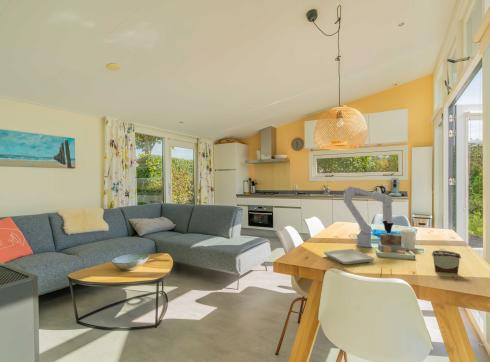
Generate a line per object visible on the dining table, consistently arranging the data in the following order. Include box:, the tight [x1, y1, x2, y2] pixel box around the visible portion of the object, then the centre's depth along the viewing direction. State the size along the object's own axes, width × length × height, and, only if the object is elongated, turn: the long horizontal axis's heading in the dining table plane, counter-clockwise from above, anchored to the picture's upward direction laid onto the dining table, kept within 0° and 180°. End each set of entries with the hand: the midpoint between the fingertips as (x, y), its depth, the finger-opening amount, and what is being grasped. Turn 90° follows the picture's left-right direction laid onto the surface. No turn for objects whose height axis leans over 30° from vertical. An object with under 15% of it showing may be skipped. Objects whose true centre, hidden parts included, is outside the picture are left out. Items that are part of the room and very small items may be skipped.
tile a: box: [384, 246, 391, 253], centre depth 171 cm, size 4×4×2 cm
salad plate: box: [323, 248, 375, 265], centre depth 160 cm, size 21×21×3 cm
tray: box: [375, 247, 416, 261], centre depth 167 cm, size 20×12×2 cm, turn 70°
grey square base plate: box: [377, 241, 406, 253], centre depth 179 cm, size 14×13×4 cm
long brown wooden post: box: [379, 233, 401, 245], centre depth 181 cm, size 12×3×6 cm, turn 70°
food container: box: [431, 250, 462, 275], centre depth 139 cm, size 12×6×10 cm, turn 71°
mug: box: [400, 229, 417, 251], centre depth 186 cm, size 12×8×12 cm
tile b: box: [397, 250, 406, 254], centre depth 166 cm, size 4×4×2 cm
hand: (387, 231), depth 189 cm, fingers open, 7 cm apart
